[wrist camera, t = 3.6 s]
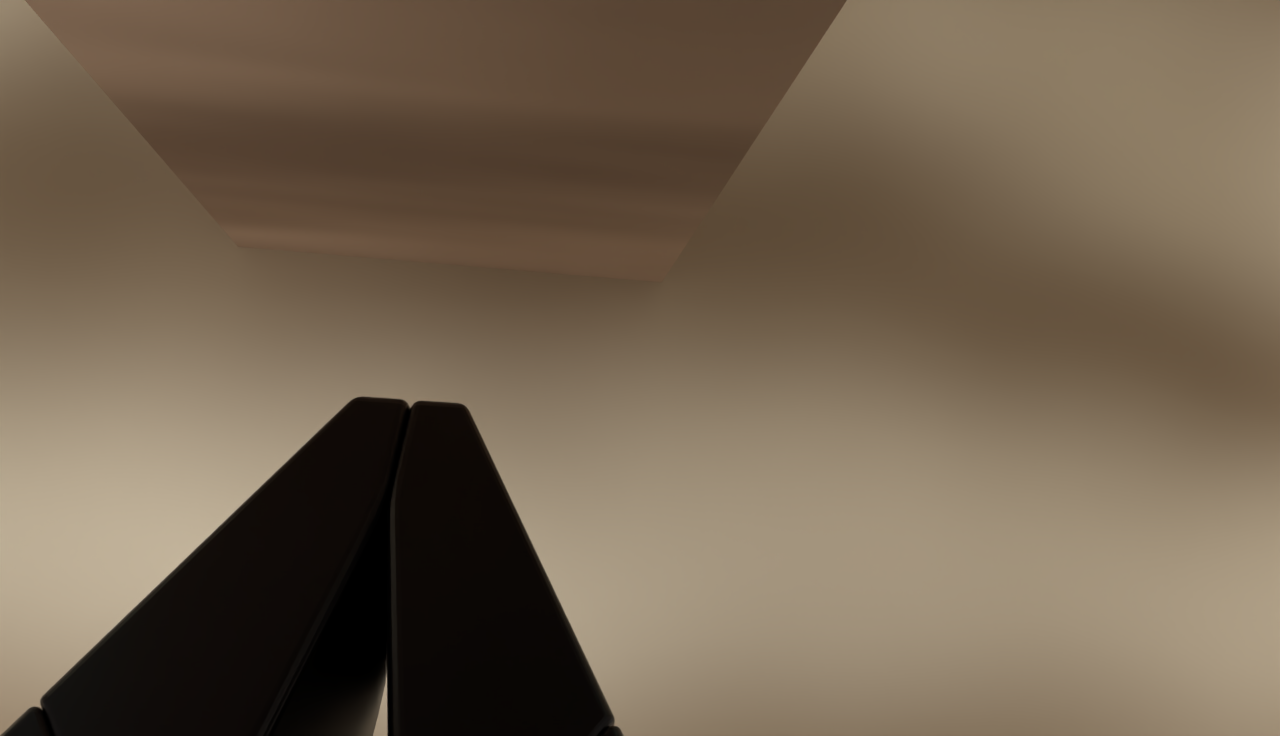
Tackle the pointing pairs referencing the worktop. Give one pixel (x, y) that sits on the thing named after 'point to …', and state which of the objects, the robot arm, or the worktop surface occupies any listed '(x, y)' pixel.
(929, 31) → the bench plate
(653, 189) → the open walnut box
